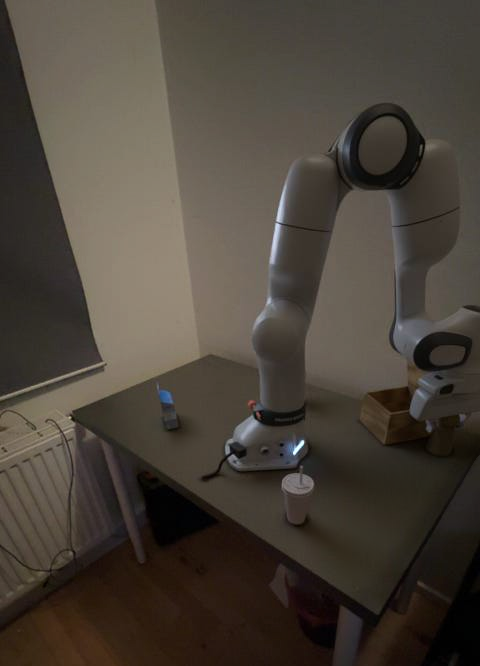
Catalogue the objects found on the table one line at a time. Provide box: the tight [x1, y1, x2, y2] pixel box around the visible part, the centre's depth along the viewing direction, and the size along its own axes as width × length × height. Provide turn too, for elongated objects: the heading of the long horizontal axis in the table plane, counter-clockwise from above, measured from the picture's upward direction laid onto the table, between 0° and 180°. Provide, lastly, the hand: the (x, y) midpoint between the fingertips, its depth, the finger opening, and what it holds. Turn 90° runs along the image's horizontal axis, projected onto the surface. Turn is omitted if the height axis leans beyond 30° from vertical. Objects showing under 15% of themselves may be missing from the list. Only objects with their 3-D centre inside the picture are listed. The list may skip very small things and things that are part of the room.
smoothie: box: [281, 465, 315, 525], centre depth 70 cm, size 6×6×14 cm
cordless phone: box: [156, 382, 179, 431], centre depth 107 cm, size 9×4×12 cm, turn 16°
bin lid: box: [406, 359, 430, 390], centre depth 92 cm, size 15×13×1 cm
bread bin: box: [359, 385, 436, 446], centre depth 98 cm, size 14×13×10 cm
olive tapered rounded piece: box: [425, 415, 460, 457], centre depth 88 cm, size 6×6×11 cm
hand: (444, 428), depth 88 cm, fingers open, 6 cm apart
